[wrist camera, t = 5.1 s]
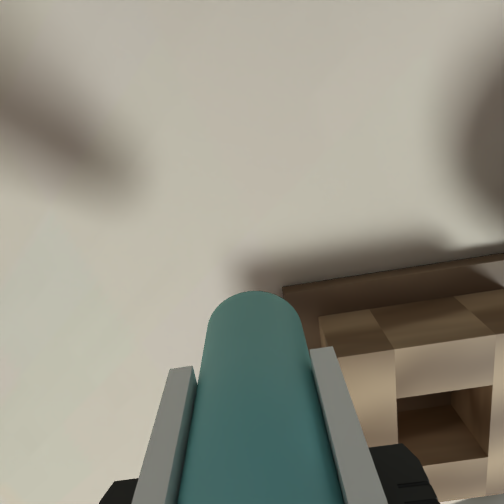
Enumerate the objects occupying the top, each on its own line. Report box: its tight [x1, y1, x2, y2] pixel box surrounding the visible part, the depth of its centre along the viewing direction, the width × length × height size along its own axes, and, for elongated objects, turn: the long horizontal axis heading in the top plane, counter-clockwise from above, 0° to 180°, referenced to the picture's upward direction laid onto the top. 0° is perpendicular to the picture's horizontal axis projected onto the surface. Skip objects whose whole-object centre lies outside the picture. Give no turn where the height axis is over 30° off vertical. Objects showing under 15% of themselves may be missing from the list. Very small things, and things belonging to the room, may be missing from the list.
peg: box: [177, 291, 344, 504], centre depth 11 cm, size 4×4×12 cm
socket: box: [282, 253, 504, 502], centre depth 26 cm, size 16×16×6 cm
